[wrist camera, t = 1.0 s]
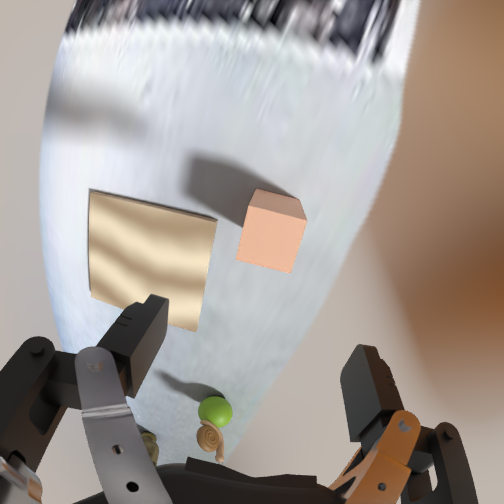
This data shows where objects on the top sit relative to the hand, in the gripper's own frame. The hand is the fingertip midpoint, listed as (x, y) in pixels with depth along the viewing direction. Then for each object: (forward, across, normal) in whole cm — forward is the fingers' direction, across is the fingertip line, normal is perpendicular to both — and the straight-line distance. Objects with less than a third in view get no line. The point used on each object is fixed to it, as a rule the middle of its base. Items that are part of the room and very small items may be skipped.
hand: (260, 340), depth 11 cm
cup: (+20, +13, +54) cm, 59 cm away
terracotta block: (+20, 0, 0) cm, 20 cm away
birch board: (+20, +14, +10) cm, 26 cm away
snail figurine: (+20, 0, +32) cm, 38 cm away
